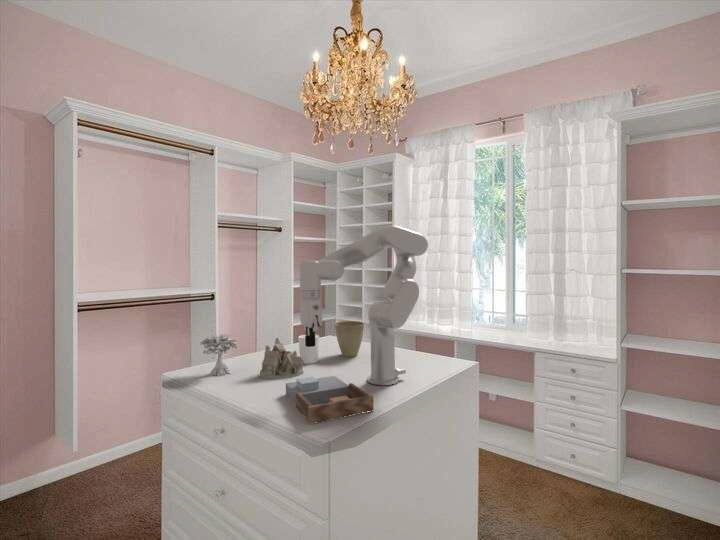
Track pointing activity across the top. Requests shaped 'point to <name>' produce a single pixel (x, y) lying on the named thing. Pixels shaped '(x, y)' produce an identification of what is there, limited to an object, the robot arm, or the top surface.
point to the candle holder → (308, 350)
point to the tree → (219, 351)
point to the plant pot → (349, 337)
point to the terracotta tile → (338, 398)
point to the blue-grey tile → (307, 383)
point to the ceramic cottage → (280, 363)
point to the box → (335, 406)
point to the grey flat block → (320, 390)
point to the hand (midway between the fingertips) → (310, 346)
